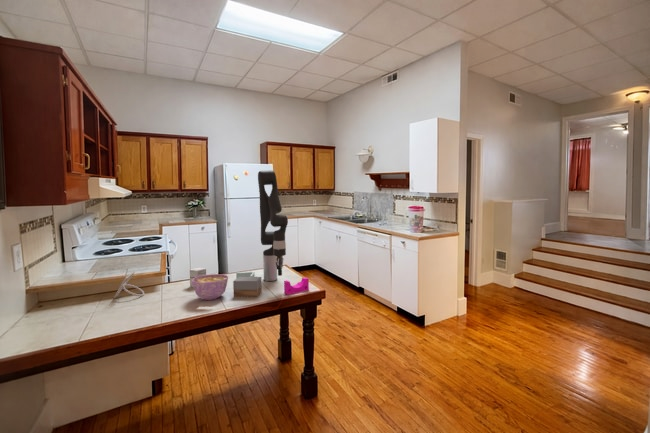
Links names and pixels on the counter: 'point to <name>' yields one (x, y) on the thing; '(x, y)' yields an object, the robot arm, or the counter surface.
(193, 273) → the supplement box
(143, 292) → the wire frame
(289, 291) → the toy block
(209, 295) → the bowl of food
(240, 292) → the tower bottom
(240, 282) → the tower top
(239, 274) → the right angle wall
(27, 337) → the counter surface
